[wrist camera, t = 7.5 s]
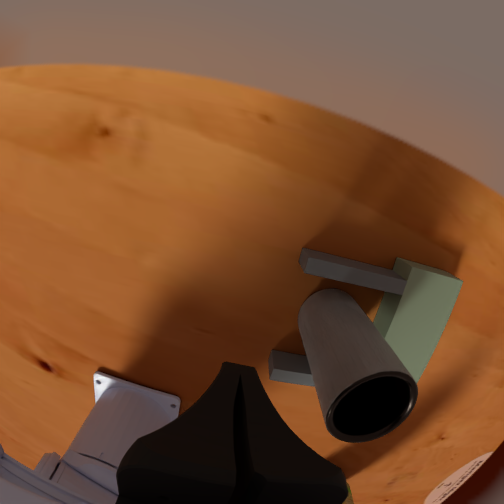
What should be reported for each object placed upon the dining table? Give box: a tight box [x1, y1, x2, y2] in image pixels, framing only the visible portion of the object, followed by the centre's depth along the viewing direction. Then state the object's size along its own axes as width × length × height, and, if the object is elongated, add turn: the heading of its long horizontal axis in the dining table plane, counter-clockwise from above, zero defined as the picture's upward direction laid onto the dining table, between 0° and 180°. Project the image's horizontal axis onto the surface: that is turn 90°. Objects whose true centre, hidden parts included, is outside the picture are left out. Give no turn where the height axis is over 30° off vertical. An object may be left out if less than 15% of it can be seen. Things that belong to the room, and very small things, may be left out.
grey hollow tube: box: [298, 289, 418, 443], centre depth 17 cm, size 4×4×10 cm
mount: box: [268, 248, 463, 387], centre depth 20 cm, size 11×12×2 cm
